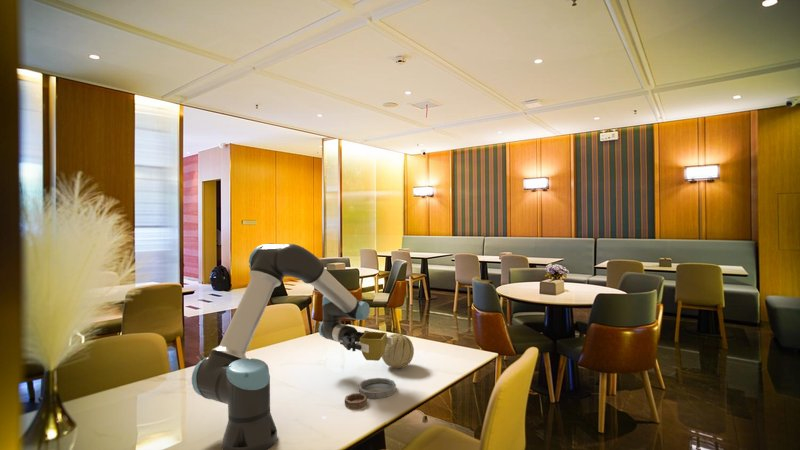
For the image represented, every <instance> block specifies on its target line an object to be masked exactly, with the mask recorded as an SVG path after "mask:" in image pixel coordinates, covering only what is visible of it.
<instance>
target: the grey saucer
mask: <svg viewBox="0 0 800 450" xmlns="http://www.w3.org/2000/svg"><path fill="white" fill-rule="evenodd" d="M396 389H397V384H396V383H395V381H394V380H393V379H390V378H387V377H385V378H383V377H374V378H373V377H372V378H368V379H365V380H363V381H361V382H359V384H358V385H357V390H358V393H362V394H364V395H366V396H367V399H383V398H388V397H389V396H392V395H393V394H395V392H396Z"/></svg>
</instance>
